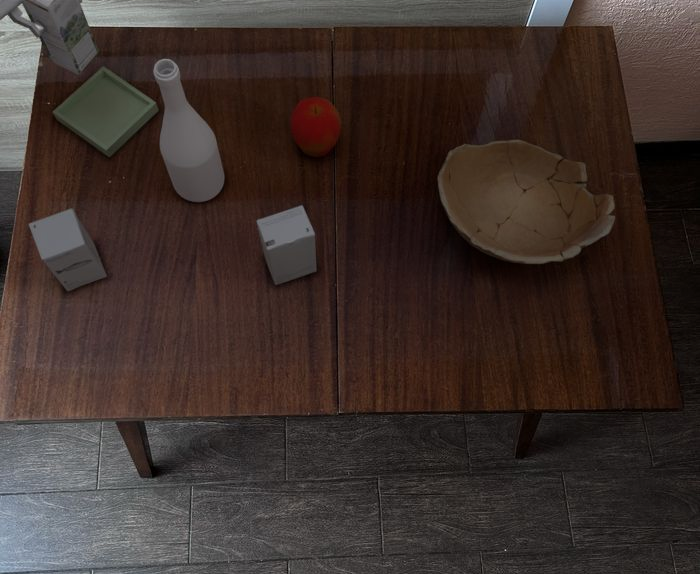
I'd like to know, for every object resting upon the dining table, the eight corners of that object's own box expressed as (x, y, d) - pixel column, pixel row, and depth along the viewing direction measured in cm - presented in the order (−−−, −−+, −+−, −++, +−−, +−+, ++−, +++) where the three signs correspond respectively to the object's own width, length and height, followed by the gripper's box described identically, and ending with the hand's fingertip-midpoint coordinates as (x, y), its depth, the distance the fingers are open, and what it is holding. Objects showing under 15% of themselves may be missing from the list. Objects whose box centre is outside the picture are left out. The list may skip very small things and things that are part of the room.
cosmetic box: (306, 245, 125) (304, 201, 111) (317, 273, 124) (317, 233, 110) (262, 259, 124) (254, 217, 110) (273, 288, 122) (267, 249, 108)
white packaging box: (67, 293, 120) (39, 260, 109) (55, 257, 123) (26, 222, 111) (108, 278, 122) (85, 244, 110) (95, 243, 124) (71, 206, 112)
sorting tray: (109, 157, 130) (105, 150, 127) (56, 119, 132) (52, 111, 130) (158, 110, 134) (156, 102, 131) (106, 74, 136) (103, 65, 134)
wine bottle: (166, 197, 127) (121, 84, 99) (184, 154, 130) (145, 34, 102) (215, 210, 127) (184, 101, 99) (232, 167, 130) (207, 49, 102)
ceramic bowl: (562, 134, 133) (593, 93, 118) (601, 268, 129) (638, 244, 115) (411, 164, 131) (424, 127, 116) (447, 302, 127) (464, 282, 112)
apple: (344, 163, 131) (347, 123, 120) (298, 171, 130) (296, 132, 119) (333, 122, 134) (334, 79, 123) (287, 131, 133) (284, 88, 122)
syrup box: (71, 38, 115) (37, -37, 101) (101, 52, 114) (71, -21, 100) (50, 62, 113) (13, -10, 99) (80, 77, 112) (47, 6, 99)
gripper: (-69, -33, 93) (13, 58, 100) (44, -117, 98) (114, -24, 106) (-74, -22, 98) (4, 64, 105) (35, -102, 103) (101, -15, 111)
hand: (60, 19), depth 106 cm, fingers closed on syrup box, 6 cm apart
